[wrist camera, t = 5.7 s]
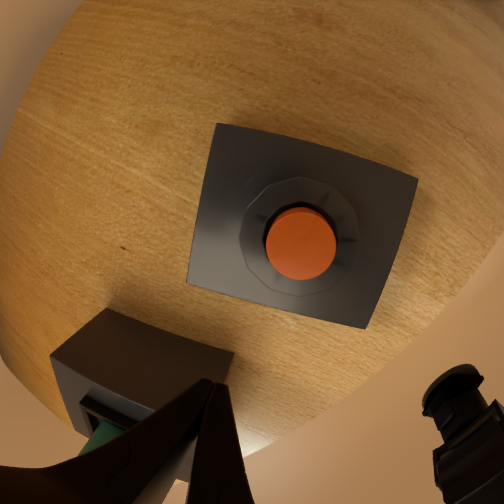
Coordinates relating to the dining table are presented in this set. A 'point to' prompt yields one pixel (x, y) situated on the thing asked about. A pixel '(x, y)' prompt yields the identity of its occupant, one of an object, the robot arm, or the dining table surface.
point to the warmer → (130, 372)
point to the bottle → (101, 437)
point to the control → (291, 196)
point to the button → (300, 244)
